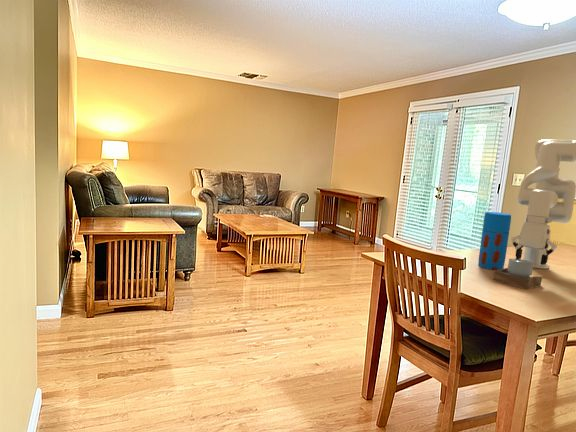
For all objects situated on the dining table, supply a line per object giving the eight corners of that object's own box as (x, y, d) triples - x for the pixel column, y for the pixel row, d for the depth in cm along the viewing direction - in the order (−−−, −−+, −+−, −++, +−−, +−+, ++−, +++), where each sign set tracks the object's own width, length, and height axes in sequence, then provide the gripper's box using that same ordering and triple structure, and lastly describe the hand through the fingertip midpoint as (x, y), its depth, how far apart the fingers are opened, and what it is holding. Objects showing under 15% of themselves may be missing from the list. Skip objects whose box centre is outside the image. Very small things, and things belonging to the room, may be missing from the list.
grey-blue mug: (518, 277, 174) (521, 256, 173) (538, 282, 168) (542, 261, 166) (502, 281, 166) (505, 259, 165) (522, 287, 160) (525, 264, 158)
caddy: (507, 276, 174) (509, 267, 173) (540, 285, 163) (542, 275, 163) (492, 280, 167) (494, 270, 166) (526, 289, 156) (527, 279, 156)
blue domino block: (506, 271, 183) (515, 216, 179) (481, 268, 185) (488, 213, 181) (499, 265, 193) (507, 213, 190) (475, 263, 195) (482, 211, 192)
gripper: (564, 223, 162) (557, 265, 164) (519, 217, 176) (513, 256, 178) (556, 223, 157) (549, 267, 159) (510, 217, 171) (504, 257, 173)
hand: (530, 261), depth 169 cm, fingers open, 9 cm apart
